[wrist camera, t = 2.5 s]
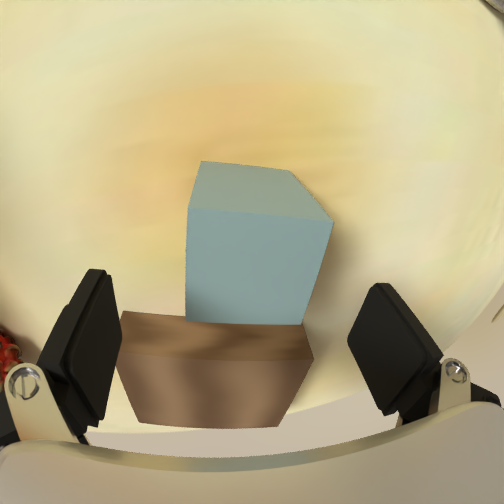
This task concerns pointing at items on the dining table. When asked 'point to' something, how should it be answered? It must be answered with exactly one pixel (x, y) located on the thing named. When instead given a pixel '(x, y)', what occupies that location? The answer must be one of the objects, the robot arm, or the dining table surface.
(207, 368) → the plinth
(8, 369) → the dragon fruit
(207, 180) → the block
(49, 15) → the dining table surface
